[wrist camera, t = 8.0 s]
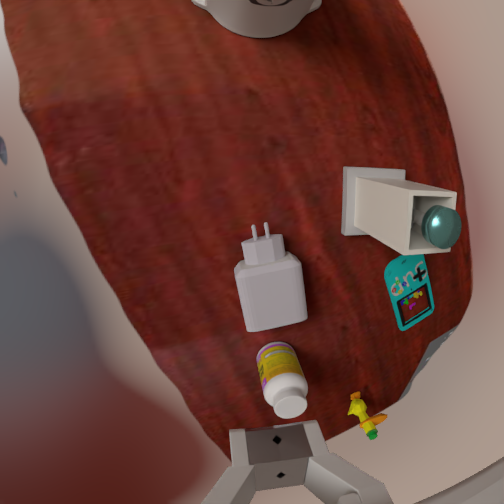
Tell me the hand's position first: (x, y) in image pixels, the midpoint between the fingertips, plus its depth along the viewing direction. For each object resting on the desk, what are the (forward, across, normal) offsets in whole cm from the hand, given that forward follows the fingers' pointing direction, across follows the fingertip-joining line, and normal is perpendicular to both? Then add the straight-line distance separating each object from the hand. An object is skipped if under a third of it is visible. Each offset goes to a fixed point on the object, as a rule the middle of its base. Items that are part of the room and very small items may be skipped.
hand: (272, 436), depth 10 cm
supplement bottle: (+37, -7, +24) cm, 45 cm away
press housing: (+37, -22, -2) cm, 43 cm away
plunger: (+31, -22, -2) cm, 38 cm away
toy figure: (+37, -24, +37) cm, 58 cm away
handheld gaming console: (+38, -32, +14) cm, 51 cm away
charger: (+38, -5, +8) cm, 39 cm away
